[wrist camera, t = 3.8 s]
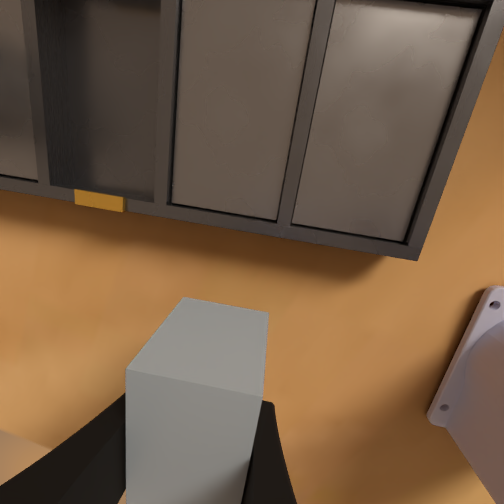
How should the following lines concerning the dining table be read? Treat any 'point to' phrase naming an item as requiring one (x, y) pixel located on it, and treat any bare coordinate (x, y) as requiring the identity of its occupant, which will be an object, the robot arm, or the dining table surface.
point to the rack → (246, 110)
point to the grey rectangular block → (195, 405)
